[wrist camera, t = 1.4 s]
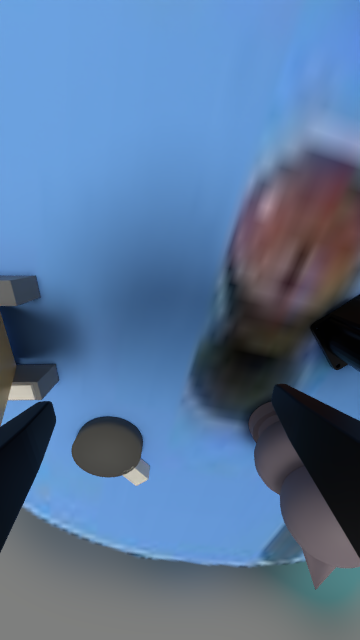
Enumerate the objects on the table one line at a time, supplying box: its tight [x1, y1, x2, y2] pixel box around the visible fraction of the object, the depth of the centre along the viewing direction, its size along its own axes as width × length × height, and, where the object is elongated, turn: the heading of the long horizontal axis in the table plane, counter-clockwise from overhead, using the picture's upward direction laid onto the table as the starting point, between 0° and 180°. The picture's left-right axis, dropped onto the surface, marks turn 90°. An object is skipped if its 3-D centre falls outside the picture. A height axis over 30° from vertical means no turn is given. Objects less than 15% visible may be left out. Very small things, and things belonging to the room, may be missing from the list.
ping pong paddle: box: [72, 417, 150, 486], centre depth 24 cm, size 10×8×2 cm
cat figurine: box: [248, 402, 360, 589], centre depth 19 cm, size 8×8×12 cm
